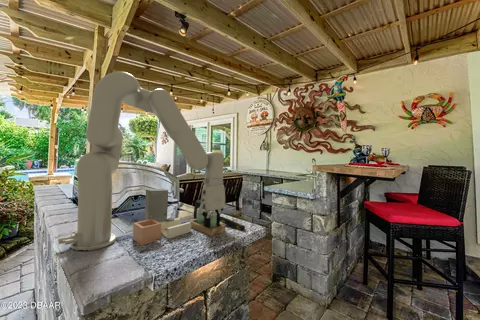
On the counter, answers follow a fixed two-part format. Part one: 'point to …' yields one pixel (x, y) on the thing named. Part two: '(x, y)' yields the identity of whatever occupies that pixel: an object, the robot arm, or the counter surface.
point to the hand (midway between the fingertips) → (211, 224)
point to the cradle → (174, 227)
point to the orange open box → (146, 231)
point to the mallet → (222, 219)
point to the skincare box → (156, 204)
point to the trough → (207, 230)
